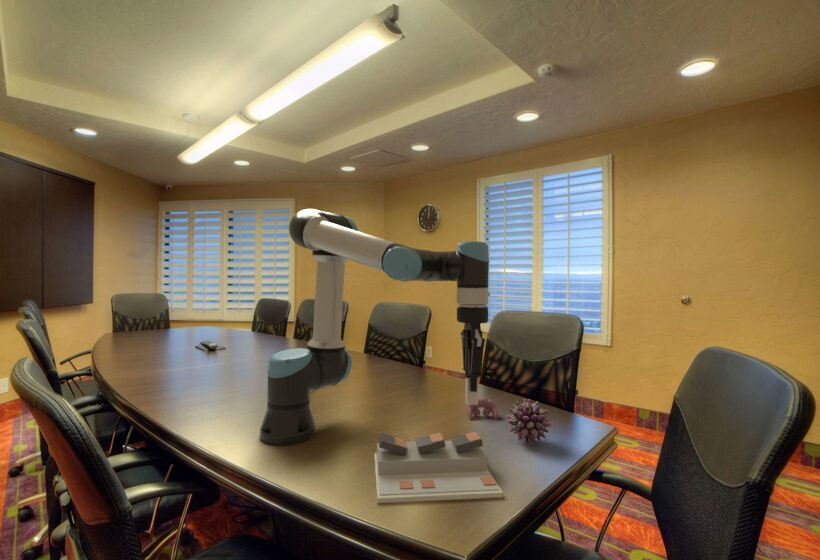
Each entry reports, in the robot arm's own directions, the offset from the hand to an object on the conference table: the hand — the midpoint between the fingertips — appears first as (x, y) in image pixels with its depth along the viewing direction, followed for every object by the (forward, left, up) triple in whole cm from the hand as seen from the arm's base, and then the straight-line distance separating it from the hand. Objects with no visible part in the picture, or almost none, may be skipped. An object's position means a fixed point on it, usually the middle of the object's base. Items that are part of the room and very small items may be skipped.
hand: (471, 403), depth 93 cm
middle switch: (-10, +1, -9) cm, 14 cm away
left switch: (-19, +1, -9) cm, 21 cm away
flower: (+20, +13, -15) cm, 28 cm away
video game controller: (+13, +33, -16) cm, 39 cm away
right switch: (-1, 0, -9) cm, 9 cm away
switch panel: (-10, -4, -15) cm, 18 cm away
